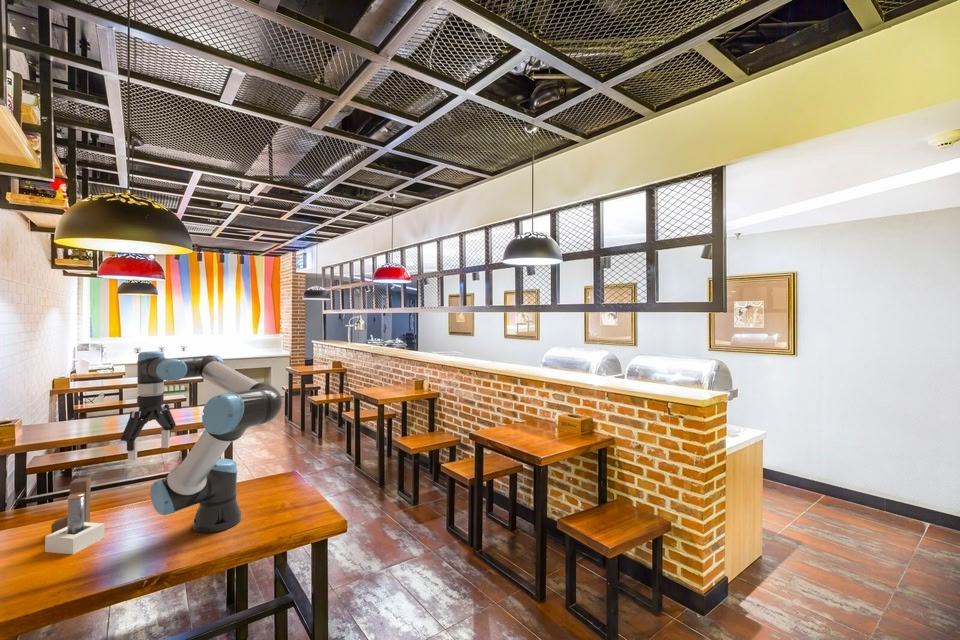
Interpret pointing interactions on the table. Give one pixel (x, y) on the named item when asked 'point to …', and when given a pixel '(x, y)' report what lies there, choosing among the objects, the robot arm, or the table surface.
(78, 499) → the peg
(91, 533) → the socket
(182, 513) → the table surface
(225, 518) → the robot arm
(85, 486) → the wooden block
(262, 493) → the table surface
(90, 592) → the table surface
